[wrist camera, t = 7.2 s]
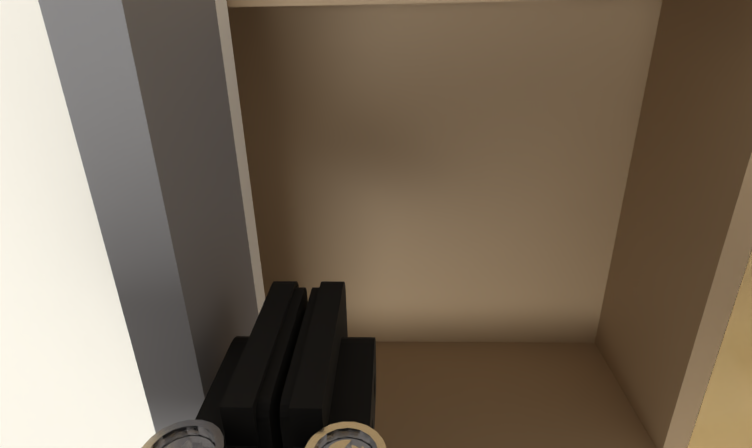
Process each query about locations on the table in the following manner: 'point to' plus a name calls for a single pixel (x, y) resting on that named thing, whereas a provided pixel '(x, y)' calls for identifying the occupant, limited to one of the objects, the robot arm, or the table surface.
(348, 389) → the robot arm
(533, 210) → the tray
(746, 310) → the table surface
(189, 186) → the lid
